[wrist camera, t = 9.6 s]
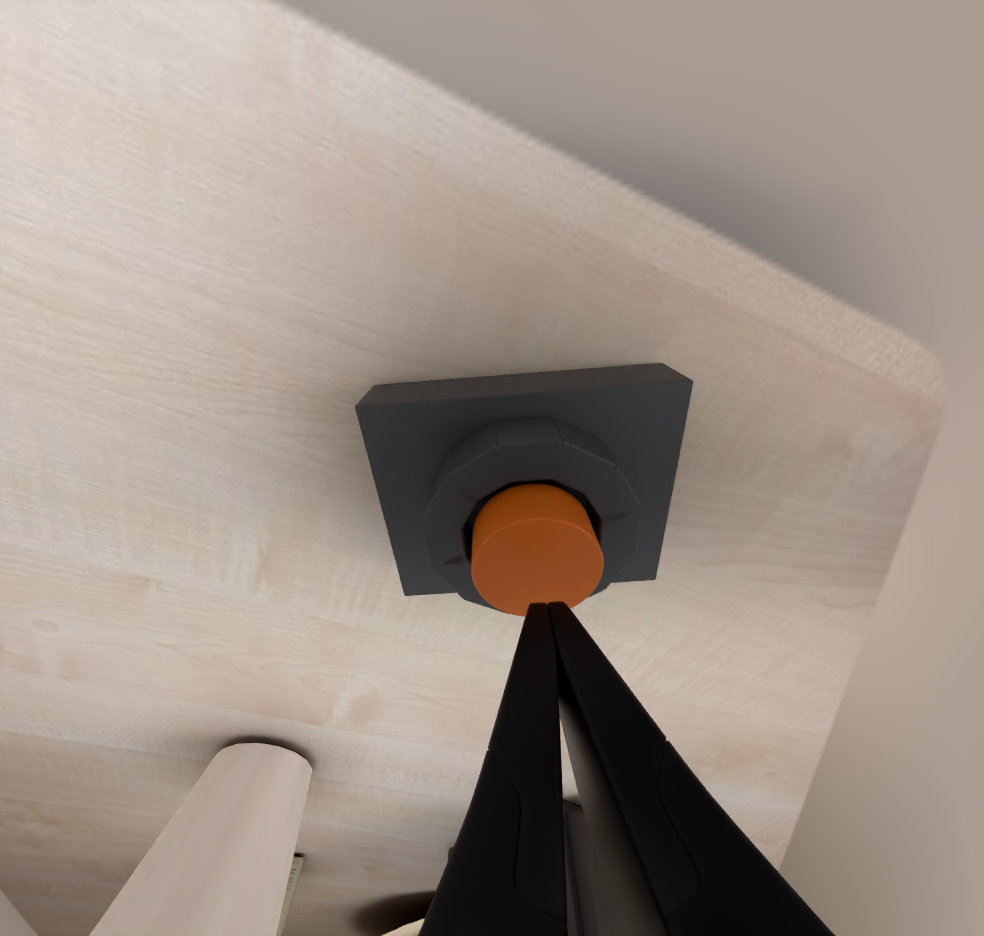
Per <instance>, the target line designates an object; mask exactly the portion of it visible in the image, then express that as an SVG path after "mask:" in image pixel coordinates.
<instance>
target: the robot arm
mask: <svg viewBox="0 0 984 936" xmlns="http://www.w3.org/2000/svg"><path fill="white" fill-rule="evenodd" d="M559 715H560V717H559ZM560 719H561V723H562V727H563V731H564V736H565V740H566V744H567V748H568V752H569V756H570V760H571V765H572V769H573V773H574V777H575V781H576V785H577V789H578V793H579V798H580V802H581V806H582V810H583V814H584V818H585V822H586V827H587V831H588V835H589V839H590V843H591V847H592V851H593V855H594V860H595V864H596V868H597V872H598V876H599V880H600V884H601V888H602V893H603V897H604V901H605V905H606V909H607V913H608V917H609V922H610V926H611V930H612V934H613V936H835V935H834V934H833V933H832V932H831V931H830V929H828V927H827V926H826V925H825V924H824V923H823V922H822V921H821V920H820V918H819V917H818V916H817V915H816V914H815V913H814V912H813V911H812V910H811V908H809V906H808V905H807V904H806V903H805V902H804V901H803V900H802V898H801V897H800V896H799V895H798V894H797V893H796V892H795V891H794V889H793V888H792V887H791V886H790V885H789V884H788V882H787V881H786V880H785V879H784V878H783V877H782V876H781V875H780V873H779V872H778V871H777V870H776V869H775V868H774V867H773V866H772V864H771V863H770V862H769V861H768V860H767V859H766V858H765V857H764V855H763V854H762V853H761V852H760V851H759V850H758V849H757V847H756V846H755V845H754V844H753V843H752V842H751V841H750V840H749V838H748V837H747V836H746V835H745V834H744V833H743V832H742V831H741V829H740V828H739V827H738V826H737V825H736V824H735V823H734V821H733V820H732V819H731V818H730V817H729V816H728V814H727V813H726V812H725V811H724V810H723V808H722V807H721V806H720V805H719V804H718V803H717V801H716V800H715V799H714V798H713V797H712V796H711V794H710V793H709V792H708V791H707V790H706V788H705V787H704V786H703V784H702V783H701V782H700V781H699V779H698V778H697V777H696V776H695V774H694V773H693V772H692V770H691V769H690V768H689V767H688V765H687V764H686V763H685V762H684V760H683V759H682V758H681V756H680V755H679V754H678V752H677V751H676V750H675V748H674V747H673V745H672V744H671V743H670V742H669V741H666V737H665V735H664V734H663V732H662V731H661V730H660V728H659V727H658V726H657V724H656V723H655V722H654V720H653V719H652V718H651V716H650V715H649V714H648V712H647V711H646V710H645V708H644V707H643V706H642V704H641V703H640V702H639V700H638V699H637V698H636V696H635V695H634V694H633V692H632V691H631V690H630V688H629V687H628V686H627V684H626V683H625V682H624V680H623V679H622V678H621V676H620V675H619V674H618V672H617V671H616V670H615V668H614V667H613V666H612V664H611V663H610V662H609V660H608V659H607V658H606V656H605V655H604V654H603V652H602V651H601V650H600V648H599V647H598V646H597V644H596V643H595V642H594V640H593V639H592V638H591V636H590V635H589V634H588V632H587V631H586V629H585V628H584V627H583V625H582V624H581V623H580V621H579V620H578V619H577V617H576V616H575V615H574V613H573V612H572V611H571V609H570V608H569V607H568V605H567V604H566V603H565V602H563V601H555V602H548V603H547V604H546V603H545V602H539V603H531V604H529V606H528V610H527V613H526V617H525V620H524V624H523V627H522V631H521V634H520V638H519V641H518V645H517V648H516V652H515V655H514V659H513V662H512V665H511V669H510V672H509V676H508V679H507V683H506V686H505V690H504V693H503V697H502V700H501V704H500V707H499V711H498V714H497V718H496V721H495V725H494V728H493V732H492V735H491V739H490V742H489V746H488V751H487V752H486V755H485V759H484V762H483V766H482V769H481V772H480V775H479V779H478V782H477V785H476V788H475V791H474V794H473V797H472V801H471V804H470V806H469V809H468V812H467V814H466V817H465V820H464V822H463V825H462V828H461V830H460V833H459V836H458V838H457V841H456V843H455V846H454V848H453V851H452V853H451V856H450V858H449V861H448V863H447V865H446V868H445V870H444V873H443V875H442V878H441V880H440V883H439V885H438V887H437V890H436V892H435V895H434V897H433V900H432V902H431V905H430V907H429V909H428V912H427V914H426V917H425V919H424V922H423V924H422V927H421V929H420V931H419V934H418V936H568V929H567V923H568V919H567V894H566V868H565V843H564V818H563V793H562V767H561V742H560Z"/></svg>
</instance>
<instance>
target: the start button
mask: <svg viewBox="0 0 984 936" xmlns="http://www.w3.org/2000/svg"><path fill="white" fill-rule="evenodd" d="M603 567H604V559H603V553H602V551H601V548H600V545H599V543H598V540H597V538H596V535H595V533H594V530H593V528H592V525H591V523H590V520H589V518H588V515H587V513H586V511H585V509H584V507H583V506H582V505H581V503H580V502H579V501H578V500H577V499H576V498H575V497H574V496H572V495H571V494H569V493H568V492H566V491H564V490H562V489H560V488H557V487H554V486H550V485H546V484H523V485H518V486H514V487H511V488H509V489H506V490H504V491H502V492H500V493H498V494H497V495H495V496H494V497H492V498H491V499H490V500H489V501H488V502H487V503H486V504H485V505H484V506H483V507H482V509H481V510H480V512H479V513H478V515H477V517H476V519H475V523H474V527H473V540H472V562H471V575H472V579H473V583H474V585H475V587H476V589H477V591H478V592H479V594H480V595H481V596H482V597H483V599H485V600H486V601H487V602H488V603H489V604H491V605H492V606H494V607H495V608H497V609H499V610H501V611H504V612H506V613H509V614H513V615H518V616H526V613H527V610H528V606H529V604H531V603H539V602H545V603H546V604H547V603H548V602H555V601H563V602H565V603H566V604H567V605H568V607H569V608H572V607H574V606H576V605H578V604H579V603H581V602H582V601H583V600H585V599H586V598H587V597H588V596H589V595H590V594H591V593H592V592H593V591H594V589H595V588H596V587H597V585H598V583H599V581H600V579H601V576H602V572H603Z"/></svg>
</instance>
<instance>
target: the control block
mask: <svg viewBox="0 0 984 936" xmlns="http://www.w3.org/2000/svg"><path fill="white" fill-rule="evenodd" d="M692 386H693V380H691V379H689V378H687V377H686V376H684V375H682V374H680V373H679V372H677V371H675V370H673V369H672V368H670V367H668V366H666V365H665V364H663V363H658V364H645V365H632V366H619V367H606V368H593V369H580V370H567V371H554V372H541V373H528V374H515V375H502V376H489V377H475V378H462V379H449V380H436V381H423V382H410V383H397V384H384V385H374V386H373V387H372V388H371V389H370V390H369V392H368V393H367V394H366V395H365V396H364V397H363V398H362V399H361V400H360V401H359V403H358V404H357V405H356V406H355V409H356V413H357V416H358V420H359V424H360V428H361V432H362V435H363V439H364V443H365V447H366V451H367V454H368V458H369V462H370V466H371V470H372V473H373V477H374V481H375V485H376V488H377V492H378V496H379V500H380V504H381V507H382V511H383V515H384V519H385V523H386V526H387V530H388V534H389V538H390V542H391V545H392V549H393V553H394V557H395V561H396V564H397V568H398V572H399V576H400V580H401V583H402V587H403V591H404V595H405V596H412V595H427V594H443V593H458V594H459V595H460V596H461V597H462V598H463V599H464V600H467V601H470V602H473V603H476V604H479V605H482V606H485V607H489V608H492V609H495V610H498V611H501V610H499V609H497V608H495V607H494V606H492V605H491V604H489V603H488V602H487V601H486V600H485V599H483V597H482V596H481V595H480V594H479V592H478V591H477V589H476V587H475V585H474V583H473V579H472V575H471V562H472V540H473V527H474V523H475V519H476V517H477V515H478V513H479V512H480V510H481V509H482V507H483V506H484V505H485V504H486V503H487V502H488V501H489V500H490V499H491V498H492V497H494V496H495V495H497V494H498V493H500V492H502V491H504V490H506V489H509V488H511V487H514V486H518V485H523V484H546V485H550V486H554V487H557V488H560V489H562V490H564V491H566V492H568V493H569V494H571V495H572V496H574V497H575V498H576V499H577V500H578V501H579V502H580V503H581V505H582V506H583V507H584V509H585V511H586V513H587V515H588V518H589V520H590V523H591V525H592V528H593V530H594V533H595V535H596V538H597V540H598V543H599V545H600V548H601V551H602V553H603V559H604V567H603V572H602V576H601V579H600V581H599V583H598V585H597V587H596V588H595V589H594V591H593V592H592V593H591V594H590V595H589V596H588V597H590V596H592V595H594V594H596V593H599V592H601V591H603V589H606V588H607V587H608V586H609V584H610V583H615V582H630V581H646V580H655V579H656V574H657V569H658V564H659V559H660V553H661V548H662V543H663V538H664V532H665V527H666V522H667V517H668V511H669V506H670V501H671V496H672V491H673V485H674V480H675V475H676V470H677V464H678V459H679V454H680V449H681V444H682V438H683V433H684V428H685V423H686V417H687V412H688V407H689V402H690V396H691V391H692ZM588 597H587V598H588ZM501 612H504V611H501ZM504 613H506V612H504ZM507 614H509V613H507Z"/></svg>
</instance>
